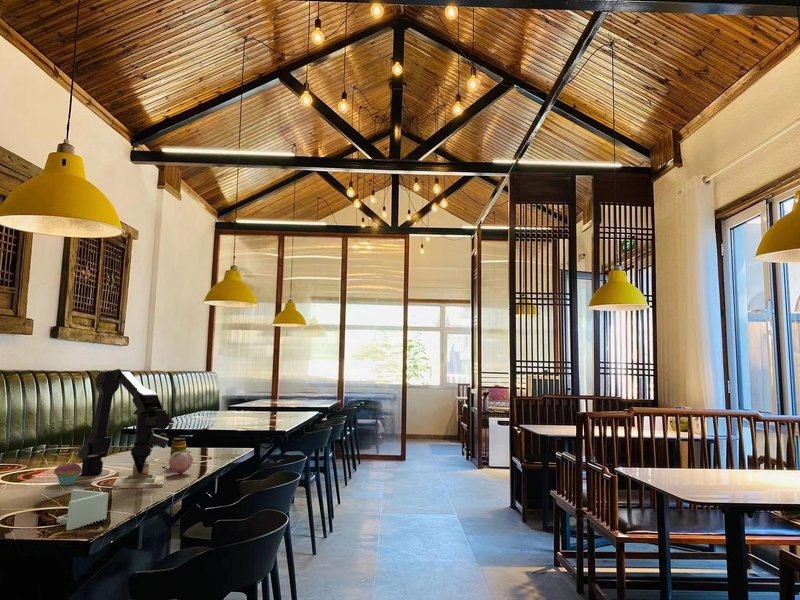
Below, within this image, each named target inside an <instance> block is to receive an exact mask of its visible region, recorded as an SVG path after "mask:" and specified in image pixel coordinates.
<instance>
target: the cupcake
mask: <svg viewBox="0 0 800 600" xmlns="http://www.w3.org/2000/svg"><path fill="white" fill-rule="evenodd" d="M74 455H75V450H74V449H73V451H71V457H70V461H69V463H67V462H65V463H63V464H60V465H58V466H57V467H56V468H55V469H54V470H53V475H55V476H56V477H57V481H58V484H59V485H60V486H70V485H71V484H72V485H75V484H76V481H77V480H78V477H79V476H80V474H81V472H82V466H80V465H79V464H77V463H73V460H74Z"/></svg>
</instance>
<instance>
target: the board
mask: <svg viewBox="0 0 800 600" xmlns="http://www.w3.org/2000/svg"><path fill="white" fill-rule="evenodd" d="M165 479H166V475H157V473H149V475H148V479H132V474H126V475H125V476H118V477H117V478H116V480H115V481H114V482H113V484H112V486H111V487H112V488H111V489H112V490H119V489H118V488H128V489H146V488H148V489H150V488H163V487H164V484H165Z"/></svg>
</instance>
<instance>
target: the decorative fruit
mask: <svg viewBox="0 0 800 600" xmlns="http://www.w3.org/2000/svg"><path fill="white" fill-rule="evenodd" d="M170 455H171V454H170ZM193 462H194V457H193V455H192V453H191V451H190V450H187V449H186V450H183V451H182V449H181V451H180V452H175V453H174V454H172V455H171V457H169V459H168V466H170V468H171V469H170V470H172V472H175V473H176V474H178V475H182V474H183V473H185V472H187V471H188V470H189V469H190V467H191V466H192V465H193Z"/></svg>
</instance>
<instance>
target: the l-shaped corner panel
mask: <svg viewBox="0 0 800 600" xmlns="http://www.w3.org/2000/svg"><path fill="white" fill-rule="evenodd" d="M108 503H109V492H102V491H92V490H82V489H71V494H70V501H69V502H68V507H67V513H66V514H63V515H60V516H58V517H57V518H56V523H57V524H58V523H60V524H59V525H63V524H65V525H66V529H65V530H66V531H71V530H75V529H79V528H81V526H82V527H85V526H87V524H88V525H91V524H94V523H93V522H95V523H97V522H96V521H98V522H100V520H101V521H104V520H106V519H107V516H108V515H107V514H108V505H109V504H108ZM103 519H104V520H103ZM90 523H91V524H90ZM84 525H85V526H84Z"/></svg>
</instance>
